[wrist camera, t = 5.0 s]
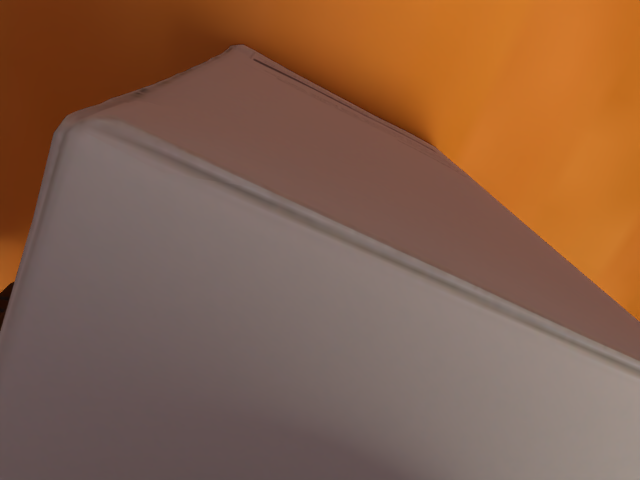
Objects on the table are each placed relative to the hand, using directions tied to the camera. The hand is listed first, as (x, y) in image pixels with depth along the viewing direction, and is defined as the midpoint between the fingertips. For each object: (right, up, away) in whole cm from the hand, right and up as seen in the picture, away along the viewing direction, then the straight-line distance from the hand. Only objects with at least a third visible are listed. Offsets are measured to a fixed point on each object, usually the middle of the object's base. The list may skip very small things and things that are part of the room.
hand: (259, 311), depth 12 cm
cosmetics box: (0, +1, +3) cm, 3 cm away
